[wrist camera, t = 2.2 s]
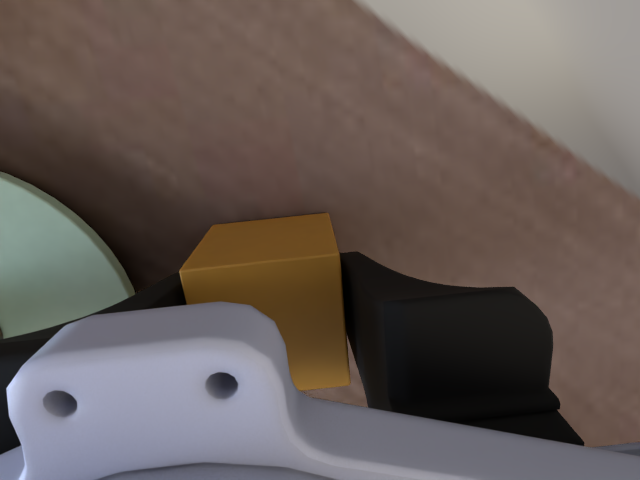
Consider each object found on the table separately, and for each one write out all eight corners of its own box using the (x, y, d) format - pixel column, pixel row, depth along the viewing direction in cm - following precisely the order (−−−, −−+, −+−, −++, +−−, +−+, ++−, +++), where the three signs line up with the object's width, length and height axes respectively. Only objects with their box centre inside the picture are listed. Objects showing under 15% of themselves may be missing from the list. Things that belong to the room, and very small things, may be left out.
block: (231, 326, 15) (208, 402, 11) (212, 224, 13) (177, 270, 10) (337, 314, 15) (351, 386, 11) (328, 212, 14) (339, 252, 10)
